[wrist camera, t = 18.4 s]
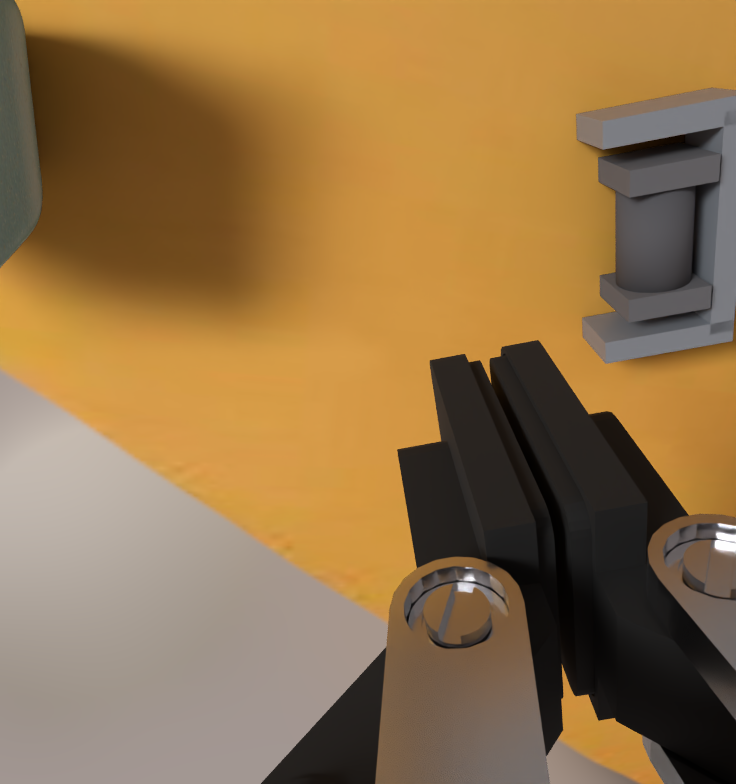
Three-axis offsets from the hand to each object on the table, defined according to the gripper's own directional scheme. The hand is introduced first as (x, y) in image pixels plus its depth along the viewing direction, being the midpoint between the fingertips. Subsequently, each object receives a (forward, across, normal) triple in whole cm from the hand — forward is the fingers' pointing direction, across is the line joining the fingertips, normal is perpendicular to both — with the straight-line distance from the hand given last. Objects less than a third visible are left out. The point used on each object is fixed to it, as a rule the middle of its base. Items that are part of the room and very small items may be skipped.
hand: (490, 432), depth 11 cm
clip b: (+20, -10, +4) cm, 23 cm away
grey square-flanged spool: (+20, -10, +4) cm, 23 cm away
